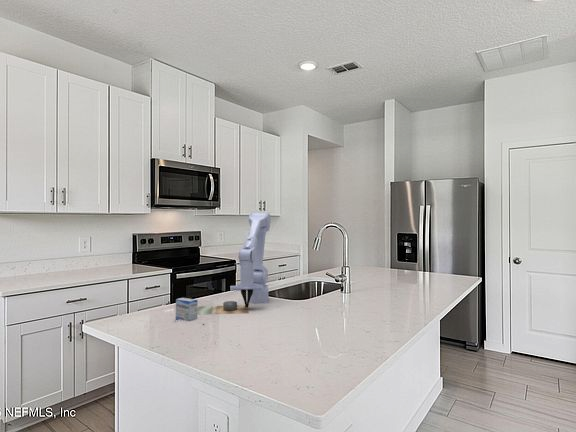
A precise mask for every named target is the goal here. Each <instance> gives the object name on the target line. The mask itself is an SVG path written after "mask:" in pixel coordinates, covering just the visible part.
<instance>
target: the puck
mask: <svg viewBox="0 0 576 432" xmlns="http://www.w3.org/2000/svg"><path fill="white" fill-rule="evenodd" d="M237 305H238V302H237V301H234V300H229V301H223V305H222V306H223V310H224V311H235V310H237Z"/></svg>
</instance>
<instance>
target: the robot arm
mask: <svg viewBox="0 0 576 432" xmlns="http://www.w3.org/2000/svg"><path fill="white" fill-rule="evenodd" d="M248 223H249V226H250V229H249V232H248V235H247V236H246V237H245V240H244V242H243V245H242V249H240V250H239V251H238V256H237V257H238V262H239V263H238V264H239V266H240V274H239V275H240V276H239V277H240V280H239V281H240V283H239V284H240V285H239V284H238V285H230V286H229V287H230V292H233V291H235V292H238V291H240V294H241V296H242V299H243V301H244V305H245V307H248V308H249V304H268V303H269V301H270V299H269V298H270V297H269V285H268V284H267V283H268V278H269V277H268V269H267V267H266V266H265V265H263V264H264V262H263V261H264V252H265V243H266V235H267V232H269V231H270V228H271V214H270V213H269V212H250V213H249V215H248Z"/></svg>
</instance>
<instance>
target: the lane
mask: <svg viewBox="0 0 576 432" xmlns="http://www.w3.org/2000/svg"><path fill="white" fill-rule="evenodd" d="M232 314H233V315H237V314H249V307H245V304H244V305H243V304H241V305H240V304H239V305H238V304H237V310H235V311H224V310H223V305H202V306H201V305H198V306H197V316H198V315H232Z"/></svg>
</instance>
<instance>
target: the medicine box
mask: <svg viewBox="0 0 576 432" xmlns="http://www.w3.org/2000/svg"><path fill="white" fill-rule="evenodd" d="M198 302H199V301H198V299H193V298H187V297H180V298H176V299H175V321H176V320H177V321H178V320H183V321H184V320H185V321H188V322H191V321H193V320H197V319H198V315H197V306H199V305H198ZM177 321H176V322H177Z"/></svg>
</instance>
